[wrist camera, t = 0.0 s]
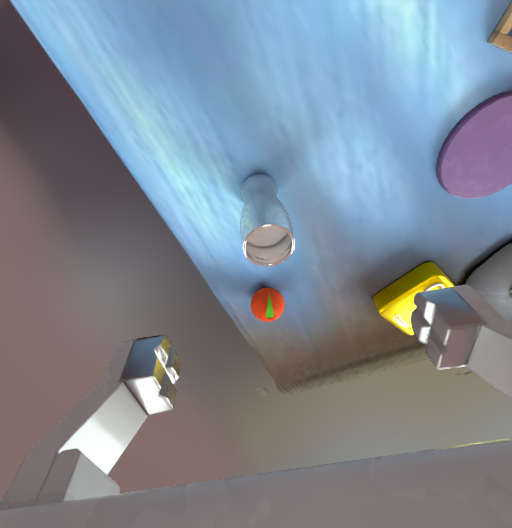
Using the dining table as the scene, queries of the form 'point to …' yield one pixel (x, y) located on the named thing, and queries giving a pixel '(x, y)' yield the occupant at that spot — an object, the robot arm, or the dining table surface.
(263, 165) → the dining table surface
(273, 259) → the beer glass
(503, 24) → the drying rack
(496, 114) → the purple disc candle holder
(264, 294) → the clementine
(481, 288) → the grey tray with blocks
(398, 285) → the element tile
